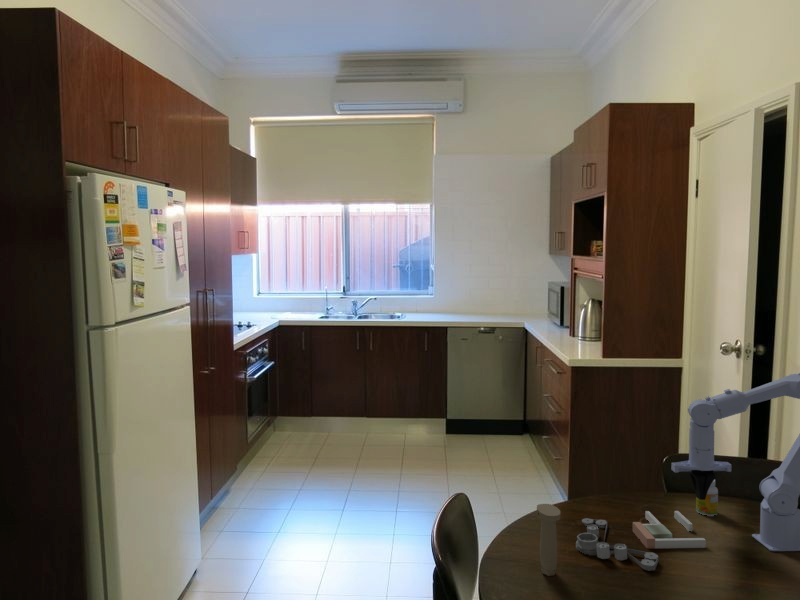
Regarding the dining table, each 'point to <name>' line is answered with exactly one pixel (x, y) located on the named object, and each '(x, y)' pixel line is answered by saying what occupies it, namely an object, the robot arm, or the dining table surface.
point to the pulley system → (610, 546)
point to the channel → (676, 541)
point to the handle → (548, 537)
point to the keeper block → (658, 531)
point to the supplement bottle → (708, 502)
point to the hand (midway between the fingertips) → (700, 498)
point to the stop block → (643, 535)
